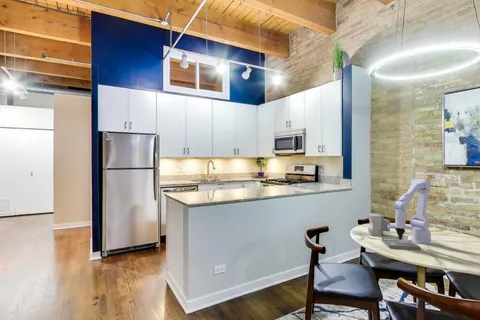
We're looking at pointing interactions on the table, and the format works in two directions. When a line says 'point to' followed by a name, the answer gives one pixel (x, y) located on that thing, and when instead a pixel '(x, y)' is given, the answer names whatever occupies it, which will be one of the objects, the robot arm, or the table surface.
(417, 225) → the robot arm
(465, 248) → the table surface
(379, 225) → the circuit breaker
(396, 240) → the panel
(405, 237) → the handle
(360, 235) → the table surface
